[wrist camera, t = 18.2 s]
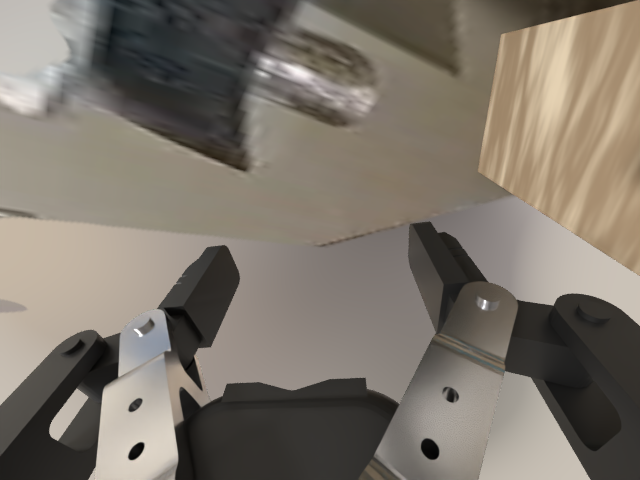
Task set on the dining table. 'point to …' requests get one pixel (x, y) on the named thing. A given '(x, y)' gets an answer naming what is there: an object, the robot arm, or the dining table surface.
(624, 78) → the notched wooden tower
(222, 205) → the dining table surface
